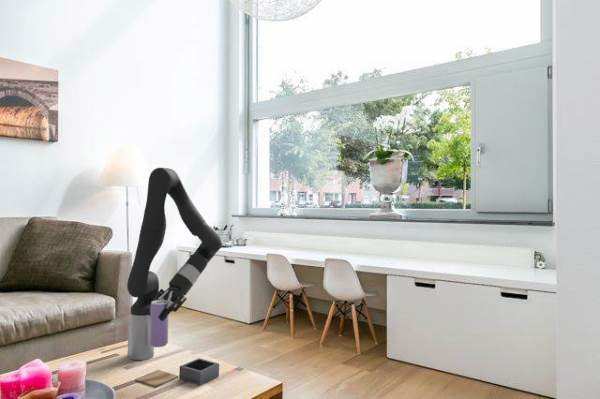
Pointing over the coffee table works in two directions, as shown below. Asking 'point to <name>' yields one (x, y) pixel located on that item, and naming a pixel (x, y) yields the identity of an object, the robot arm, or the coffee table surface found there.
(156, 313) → the beverage can
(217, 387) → the coffee table surface
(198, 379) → the square socket
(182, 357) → the coffee table surface
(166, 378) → the walnut coaster
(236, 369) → the coffee table surface
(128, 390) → the coffee table surface
